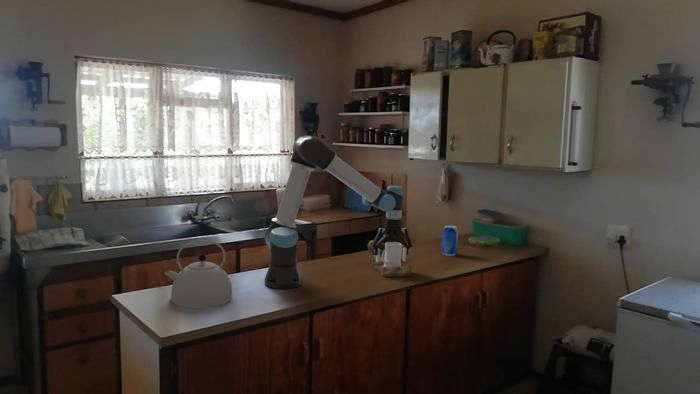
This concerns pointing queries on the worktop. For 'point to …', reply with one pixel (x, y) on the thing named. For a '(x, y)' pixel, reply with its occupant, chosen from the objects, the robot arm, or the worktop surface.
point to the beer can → (449, 240)
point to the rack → (388, 268)
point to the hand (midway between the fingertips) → (390, 261)
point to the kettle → (200, 283)
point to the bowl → (374, 248)
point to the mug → (392, 254)
